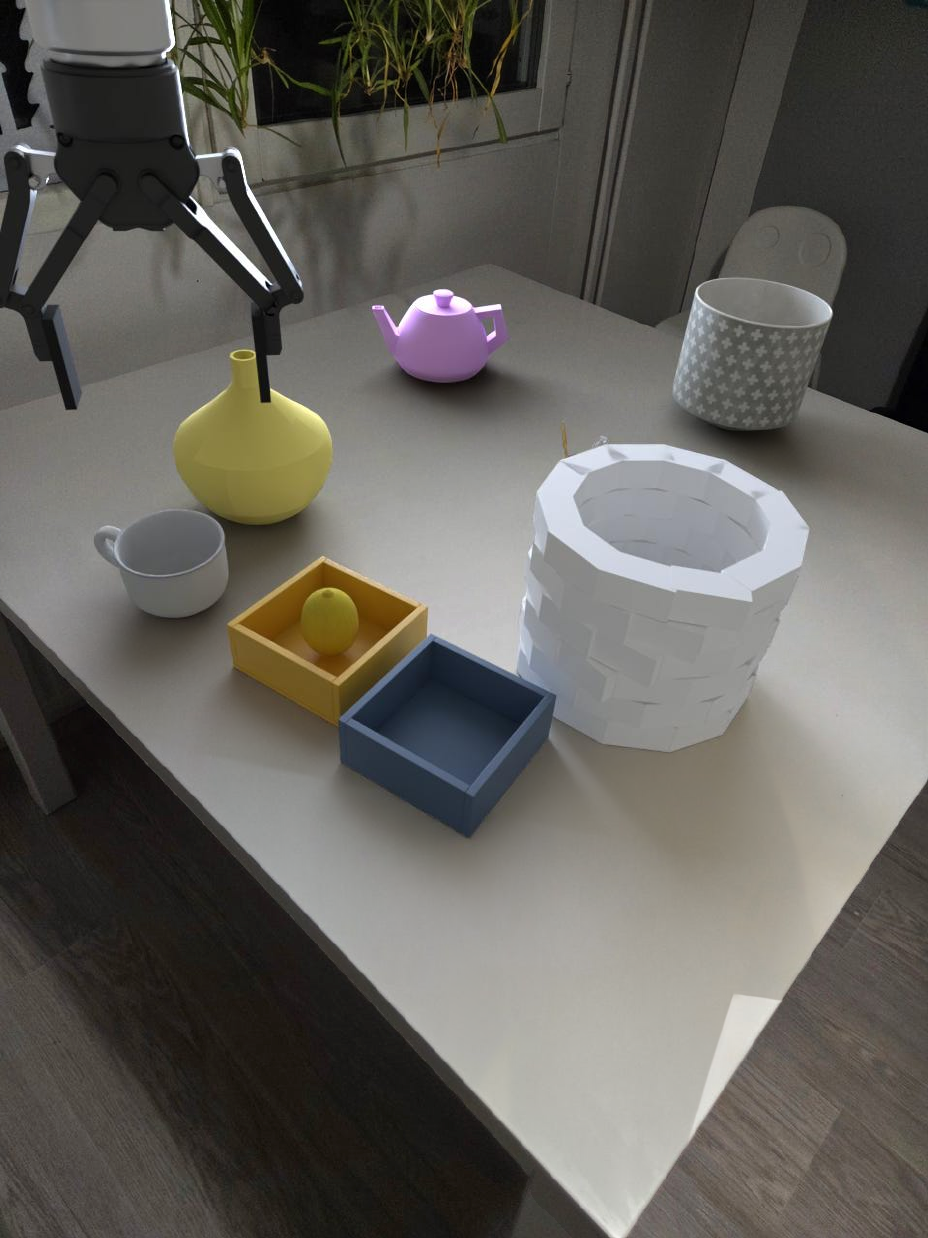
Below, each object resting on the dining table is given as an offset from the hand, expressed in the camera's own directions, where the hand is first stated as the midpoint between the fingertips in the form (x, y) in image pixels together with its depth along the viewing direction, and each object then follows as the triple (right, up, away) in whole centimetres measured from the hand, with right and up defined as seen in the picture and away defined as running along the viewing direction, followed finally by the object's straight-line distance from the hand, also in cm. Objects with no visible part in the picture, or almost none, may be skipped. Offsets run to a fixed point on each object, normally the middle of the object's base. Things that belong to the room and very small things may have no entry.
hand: (171, 398), depth 61 cm
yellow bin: (+8, -20, +21) cm, 31 cm away
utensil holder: (+36, -3, +44) cm, 57 cm away
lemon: (+8, -20, +21) cm, 30 cm away
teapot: (+18, +25, +75) cm, 81 cm away
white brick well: (+39, -22, +23) cm, 50 cm away
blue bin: (+20, -28, +13) cm, 37 cm away
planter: (+63, +15, +67) cm, 93 cm away
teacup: (-10, -14, +27) cm, 32 cm away
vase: (-4, -2, +41) cm, 42 cm away
